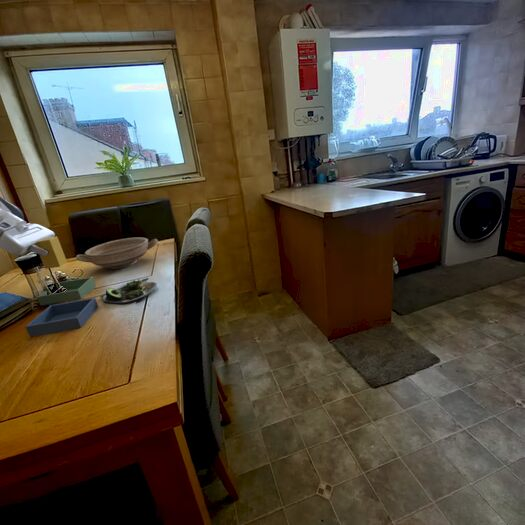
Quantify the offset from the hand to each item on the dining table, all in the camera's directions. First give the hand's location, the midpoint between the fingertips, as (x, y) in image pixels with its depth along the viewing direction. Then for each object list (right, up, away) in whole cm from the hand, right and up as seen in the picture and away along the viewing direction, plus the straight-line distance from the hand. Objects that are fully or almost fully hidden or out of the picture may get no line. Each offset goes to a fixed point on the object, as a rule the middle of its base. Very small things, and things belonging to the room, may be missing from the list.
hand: (52, 251), depth 99 cm
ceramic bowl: (+5, -5, +42) cm, 42 cm away
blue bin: (+13, -23, -11) cm, 29 cm away
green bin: (0, -17, +10) cm, 20 cm away
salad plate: (+26, -16, +4) cm, 31 cm away
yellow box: (0, -5, +2) cm, 5 cm away
